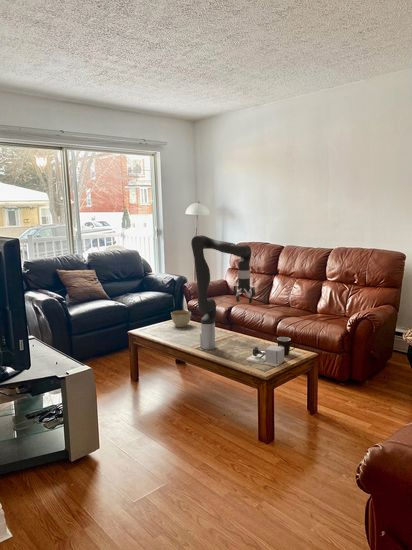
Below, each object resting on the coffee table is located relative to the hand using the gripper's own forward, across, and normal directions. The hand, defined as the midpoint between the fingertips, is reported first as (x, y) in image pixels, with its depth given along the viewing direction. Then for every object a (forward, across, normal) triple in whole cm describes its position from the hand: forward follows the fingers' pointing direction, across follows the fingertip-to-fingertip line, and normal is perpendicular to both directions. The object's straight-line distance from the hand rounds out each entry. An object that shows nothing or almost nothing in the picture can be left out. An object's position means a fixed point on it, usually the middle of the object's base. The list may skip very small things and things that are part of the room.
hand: (244, 302), depth 258 cm
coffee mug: (+33, +24, +9) cm, 42 cm away
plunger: (+31, +17, -7) cm, 36 cm away
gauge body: (+33, +17, -6) cm, 38 cm away
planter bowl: (+33, -73, +33) cm, 87 cm away
